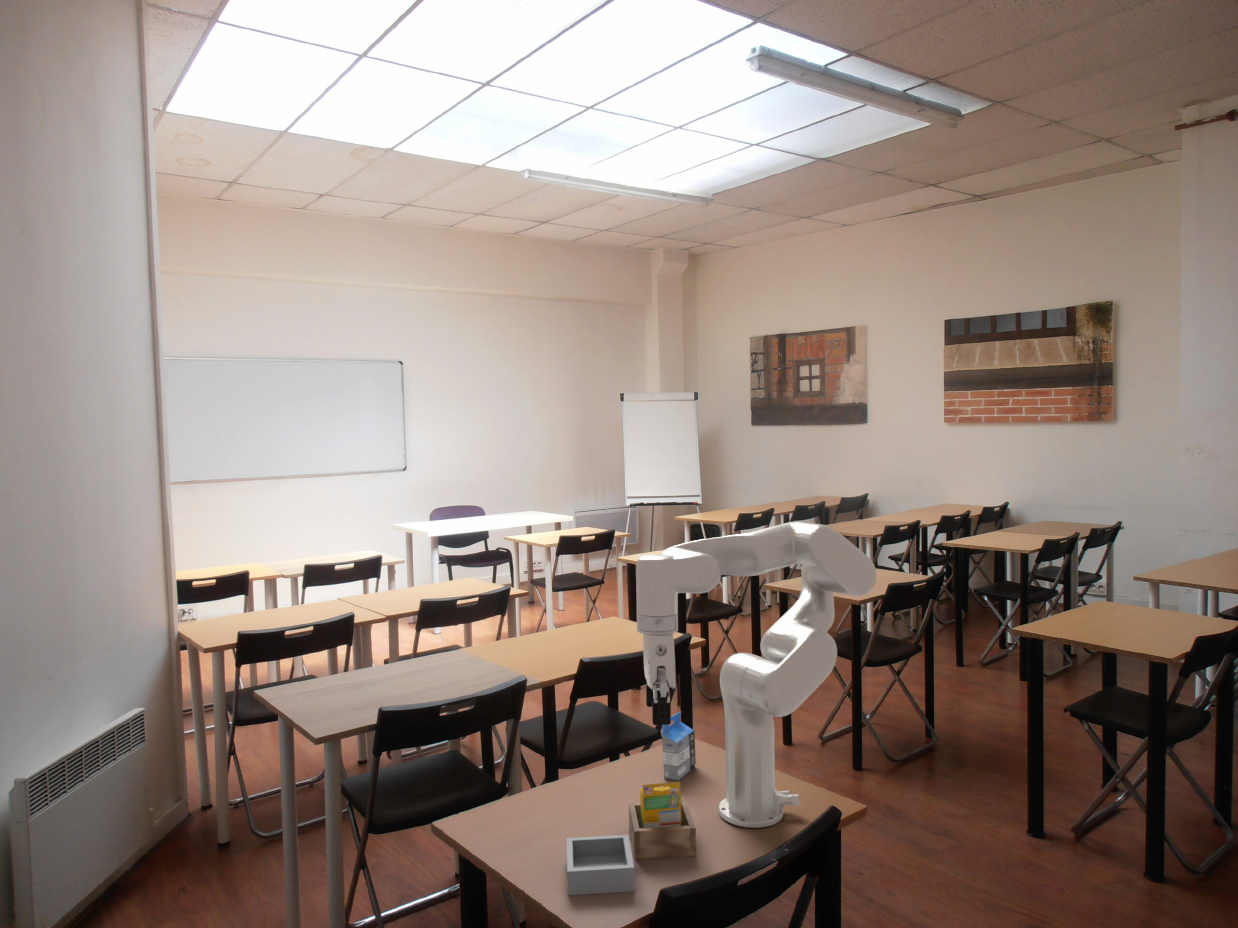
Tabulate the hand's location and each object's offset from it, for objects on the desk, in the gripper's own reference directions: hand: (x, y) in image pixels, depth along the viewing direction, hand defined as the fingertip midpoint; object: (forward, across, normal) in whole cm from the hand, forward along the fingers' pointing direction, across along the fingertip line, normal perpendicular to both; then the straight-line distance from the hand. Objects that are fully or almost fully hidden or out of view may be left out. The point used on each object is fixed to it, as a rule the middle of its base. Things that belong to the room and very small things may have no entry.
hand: (658, 714), depth 147 cm
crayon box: (+24, 0, 0) cm, 24 cm away
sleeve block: (+24, 0, 0) cm, 24 cm away
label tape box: (+24, +30, -8) cm, 39 cm away
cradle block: (+24, -10, +12) cm, 28 cm away
